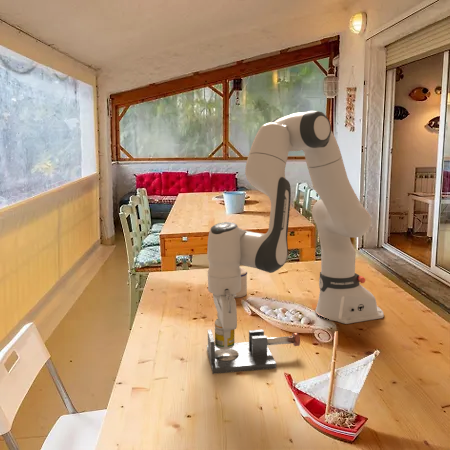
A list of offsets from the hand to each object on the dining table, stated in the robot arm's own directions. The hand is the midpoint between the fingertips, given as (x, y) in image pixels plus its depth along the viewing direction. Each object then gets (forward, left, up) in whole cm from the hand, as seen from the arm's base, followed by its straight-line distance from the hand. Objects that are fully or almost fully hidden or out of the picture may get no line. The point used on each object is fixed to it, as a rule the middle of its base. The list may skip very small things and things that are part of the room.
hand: (225, 332), depth 135 cm
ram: (-14, 0, -5) cm, 15 cm away
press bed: (-4, 0, -8) cm, 9 cm away
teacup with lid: (-10, -53, -8) cm, 54 cm away
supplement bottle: (0, 0, -4) cm, 4 cm away
